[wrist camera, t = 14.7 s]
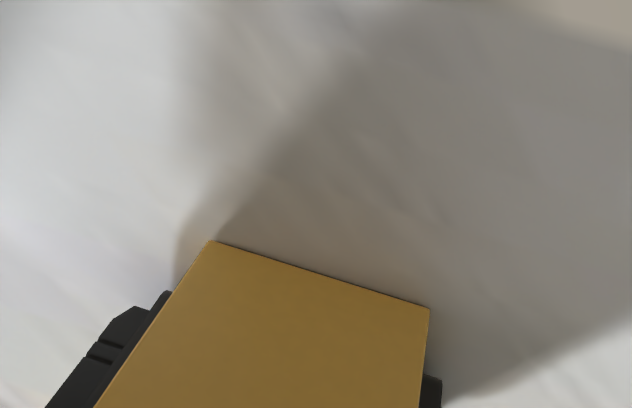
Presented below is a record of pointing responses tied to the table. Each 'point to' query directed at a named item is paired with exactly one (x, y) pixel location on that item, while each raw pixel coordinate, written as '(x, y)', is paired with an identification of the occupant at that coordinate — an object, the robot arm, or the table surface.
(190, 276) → the yellow cube
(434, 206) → the table surface
